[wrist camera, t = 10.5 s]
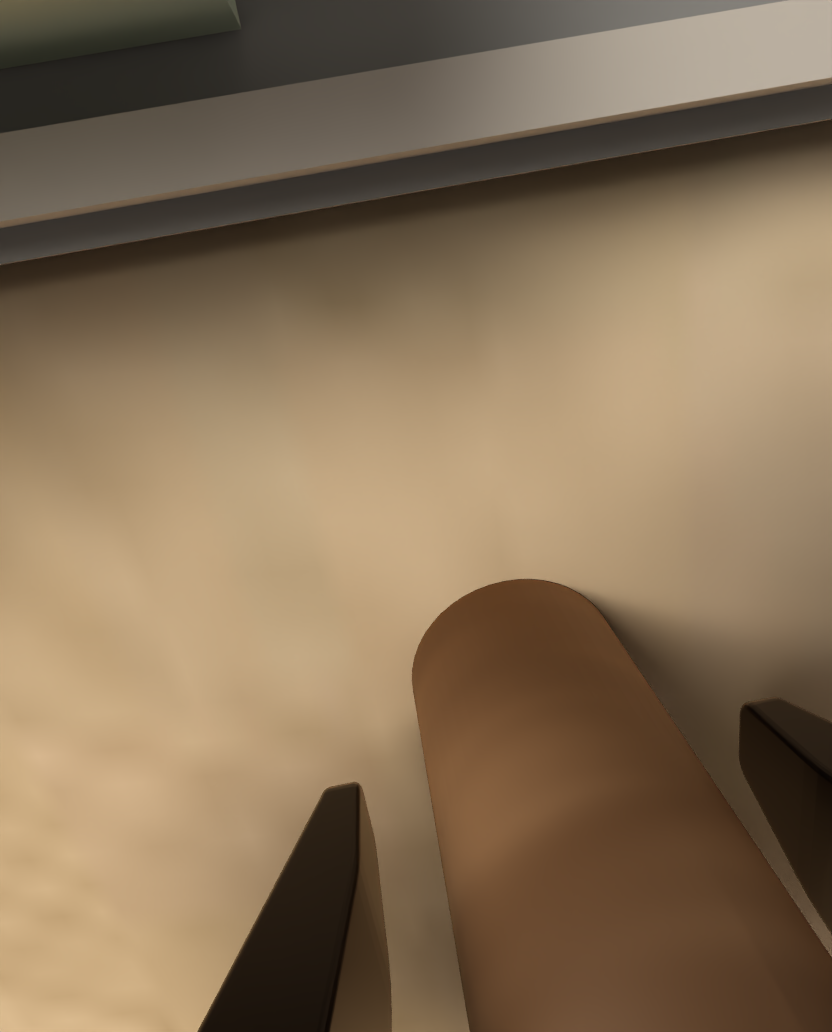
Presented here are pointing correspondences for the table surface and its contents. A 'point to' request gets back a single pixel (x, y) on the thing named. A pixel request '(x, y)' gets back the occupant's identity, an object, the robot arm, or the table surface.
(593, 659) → the walnut peg
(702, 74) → the guide board
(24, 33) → the sliding block
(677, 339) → the table surface
